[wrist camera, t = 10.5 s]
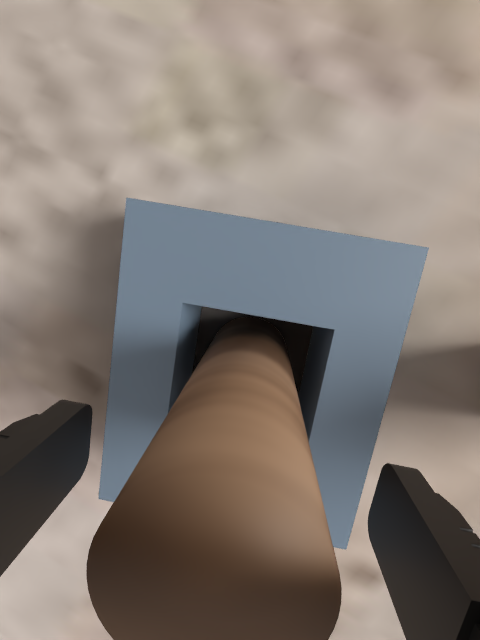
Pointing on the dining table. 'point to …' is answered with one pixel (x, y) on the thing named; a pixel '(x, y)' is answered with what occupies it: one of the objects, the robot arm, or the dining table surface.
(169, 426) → the walnut dowel
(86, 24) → the dining table surface
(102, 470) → the socket block
